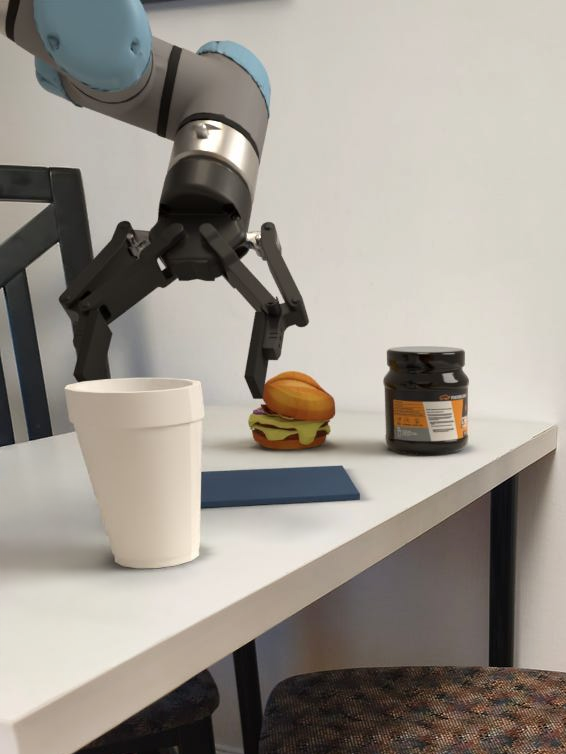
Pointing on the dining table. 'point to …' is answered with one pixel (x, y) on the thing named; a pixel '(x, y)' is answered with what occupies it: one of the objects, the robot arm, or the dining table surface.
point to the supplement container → (426, 400)
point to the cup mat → (276, 486)
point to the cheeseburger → (292, 413)
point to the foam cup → (143, 464)
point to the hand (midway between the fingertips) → (168, 387)
